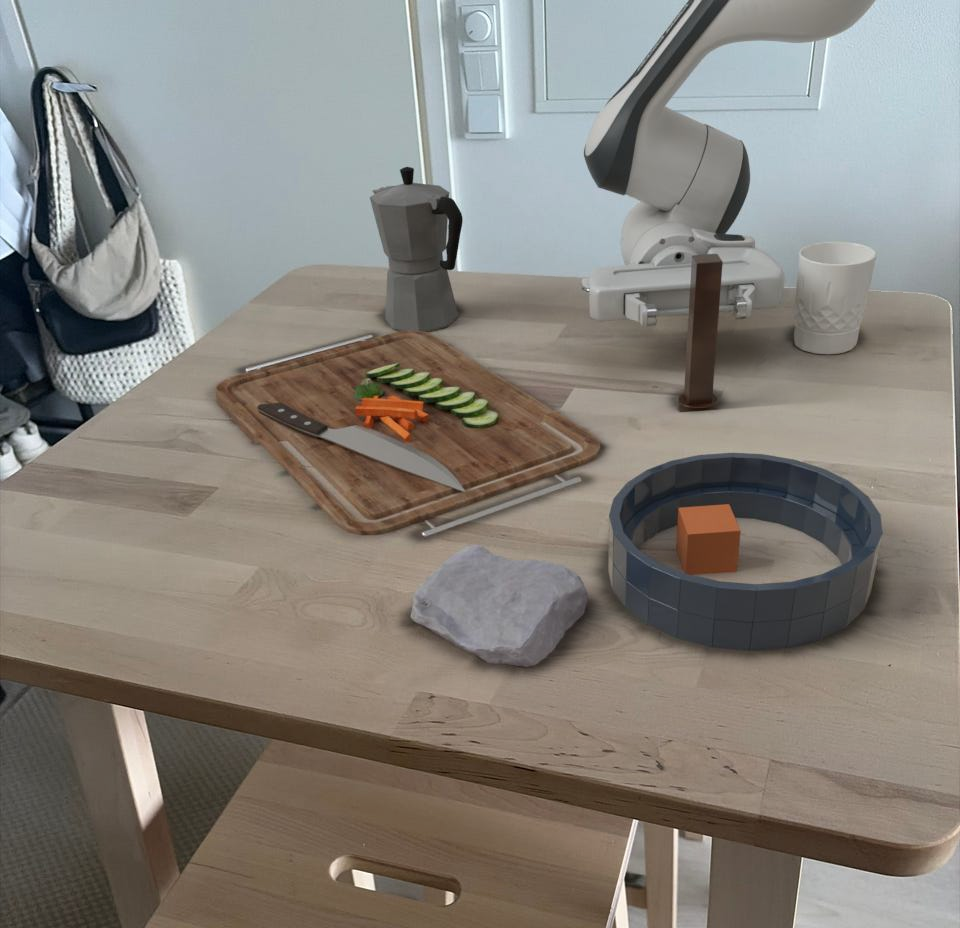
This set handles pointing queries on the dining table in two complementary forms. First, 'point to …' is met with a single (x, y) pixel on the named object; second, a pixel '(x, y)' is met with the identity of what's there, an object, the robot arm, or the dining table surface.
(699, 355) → the stick
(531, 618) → the stone block
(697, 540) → the block
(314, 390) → the chopping board
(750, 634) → the faceted bottomless ring
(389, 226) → the coffeepot
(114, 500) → the dining table surface
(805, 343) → the white cup
